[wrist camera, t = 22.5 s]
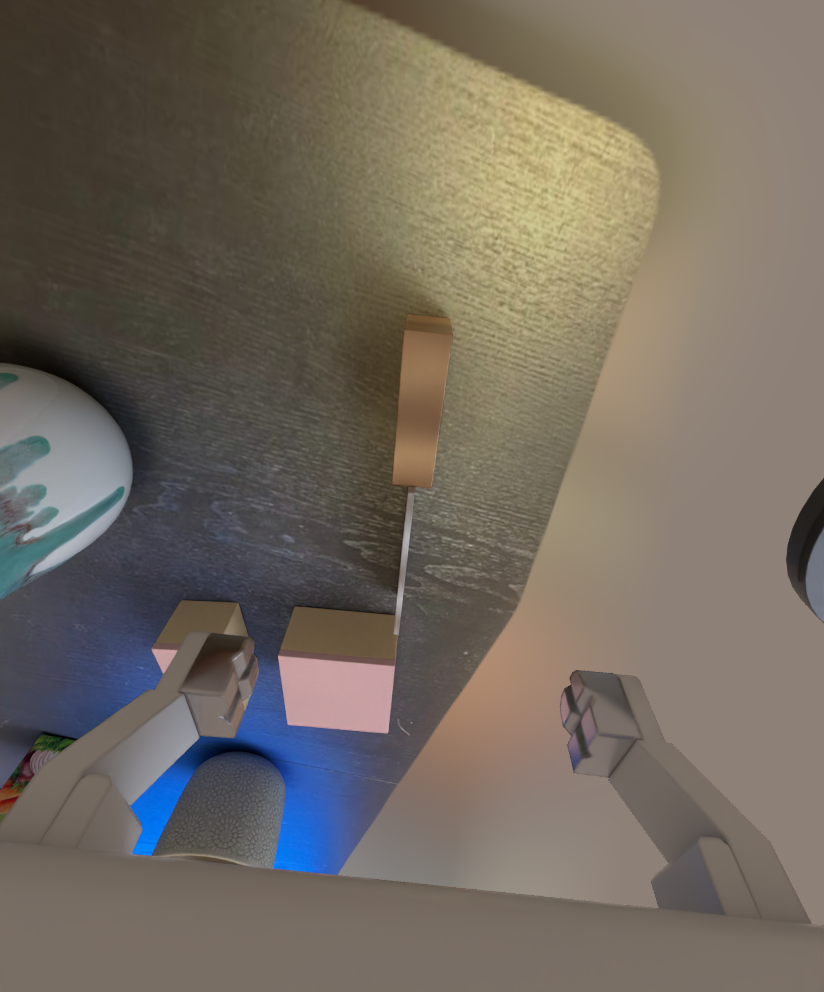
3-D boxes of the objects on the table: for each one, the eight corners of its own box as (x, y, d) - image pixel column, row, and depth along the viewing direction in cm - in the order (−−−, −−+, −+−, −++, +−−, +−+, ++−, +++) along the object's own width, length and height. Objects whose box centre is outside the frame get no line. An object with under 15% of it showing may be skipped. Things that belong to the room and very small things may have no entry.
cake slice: (238, 602, 38) (214, 652, 34) (259, 672, 44) (241, 722, 39) (181, 599, 38) (150, 649, 34) (209, 669, 44) (185, 719, 40)
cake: (399, 615, 38) (395, 666, 34) (392, 682, 44) (387, 733, 40) (294, 605, 38) (277, 655, 34) (301, 674, 44) (287, 724, 39)
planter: (293, 744, 51) (264, 861, 42) (298, 791, 58) (273, 899, 49) (186, 733, 51) (133, 849, 42) (204, 782, 58) (161, 889, 49)
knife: (407, 313, 24) (403, 332, 21) (450, 318, 24) (453, 337, 21) (385, 593, 37) (379, 633, 33) (413, 596, 37) (411, 636, 33)
